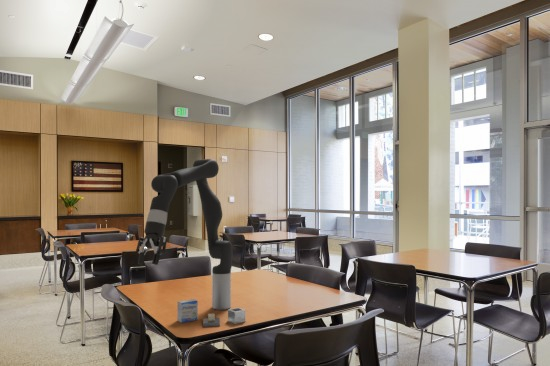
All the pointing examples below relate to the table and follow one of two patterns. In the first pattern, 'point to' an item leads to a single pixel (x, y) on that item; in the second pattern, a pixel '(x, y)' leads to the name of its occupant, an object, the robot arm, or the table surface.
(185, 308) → the medicine box
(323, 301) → the table surface
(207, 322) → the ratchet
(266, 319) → the table surface
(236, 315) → the socket
